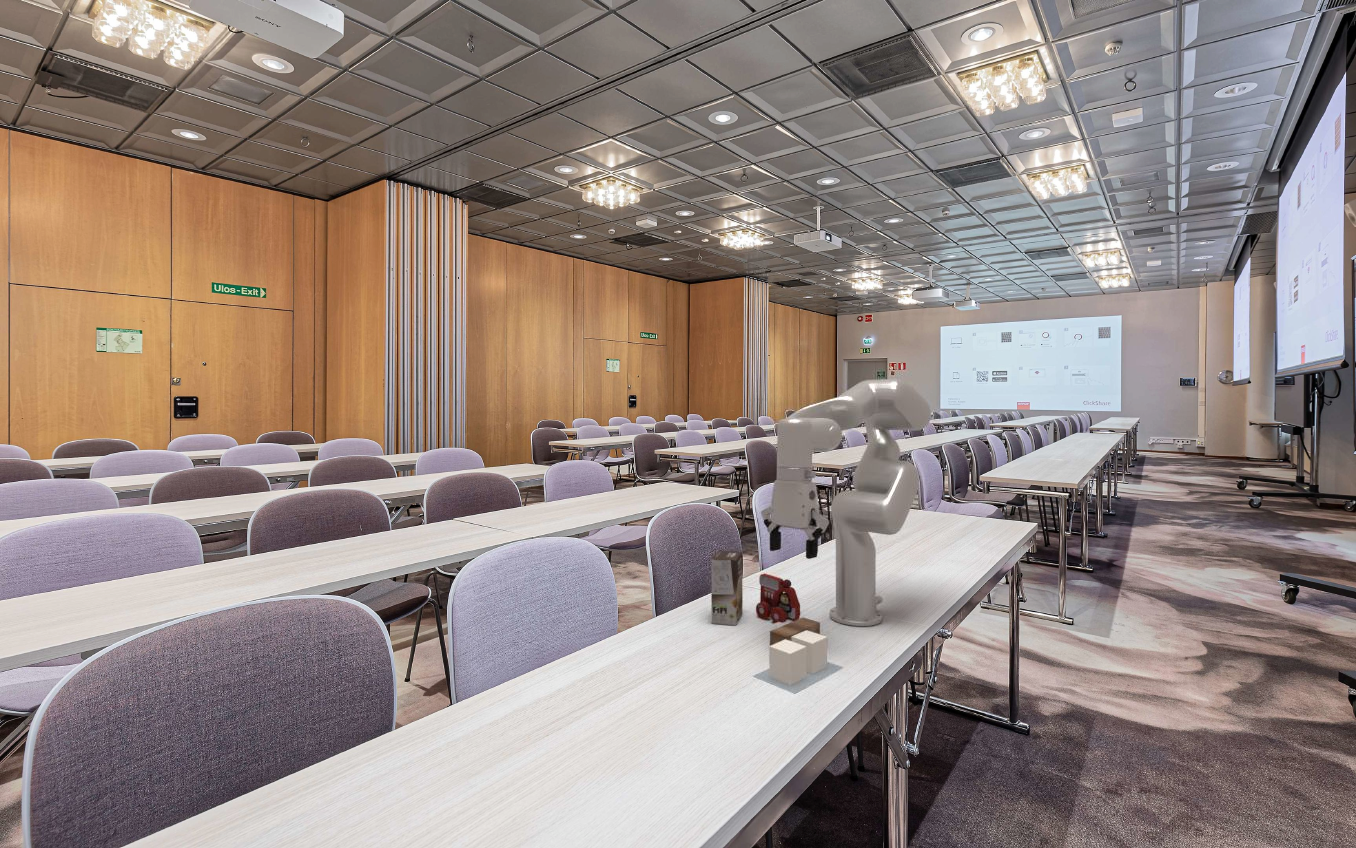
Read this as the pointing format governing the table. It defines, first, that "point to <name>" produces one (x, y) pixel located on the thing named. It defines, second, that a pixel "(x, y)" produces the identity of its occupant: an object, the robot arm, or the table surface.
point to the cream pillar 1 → (787, 662)
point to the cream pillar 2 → (813, 650)
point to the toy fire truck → (777, 599)
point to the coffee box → (726, 587)
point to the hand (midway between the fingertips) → (792, 553)
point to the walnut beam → (793, 630)
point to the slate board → (802, 683)
